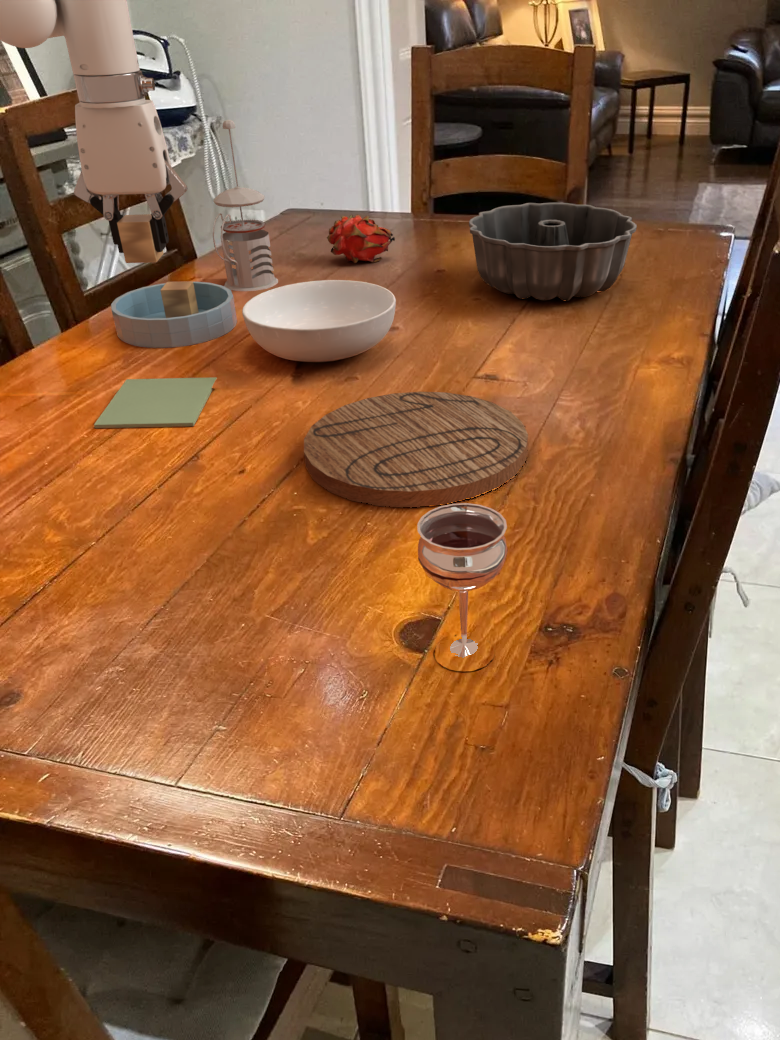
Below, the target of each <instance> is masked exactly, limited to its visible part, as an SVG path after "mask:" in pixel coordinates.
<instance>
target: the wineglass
mask: <svg viewBox="0 0 780 1040" xmlns="http://www.w3.org/2000/svg"><path fill="white" fill-rule="evenodd" d="M416 525H417V526H416V527H417V528H416V529H417V533H418V535H420V537H419V539H418V543H417V560H418V562H419V565H420V566H421V569H422V570H423V572H424V573H425V575H426V576H427V577H428V578H429V579H430V580H431V581H433V582H435V583H437V584H438V585H439V586H441V587H442V588H444V589H447V590H449V591H454V592H457V593H458V607H459V620H460V622H459V623H460V634H461V637H462V639H459V640H456V641H454V642H453V643H452V644H451V646H450V651H451V653H456V654H458V655H455V656H458V657H462V658H464V657H466V656H468V655H472V654H474V653H475V652H476V651H477V649H478V646H477V645H478V643H475V641H473V640H471V639H467V634H468V616H469V615H468V614H469V613H468V611H469V610H468V609H469V607H468V606H469V592H471V591H475V590H479V589H481V588H483V587H484V586H486V585H487V584H489V583H490V582H492V581H493V580H494V579H496V578H497V577H498V575H499V574H500V573H501V571H502V569H503V567H504V565H505V562H506V560H507V555H508V545H507V544H508V543H507V540H506V536H505V533H506V531H507V529H508V525H507V520H506V518H505V517H504V516H503V515H502V513H500V512H499V511H497V510H495V509H493V508H491V507H488V506H485V505H483V504H476V503H470V502H469V503H468V502H458V503H452V504H447V505H441V506H437V507H435V508H433V509H431V510H429V511H427V512H426V513H425V514H423V515H422V516H421V517H420V518H419V520H418V522H417V524H416Z"/></svg>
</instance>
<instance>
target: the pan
mask: <svg viewBox="0 0 780 1040" xmlns="http://www.w3.org/2000/svg"><path fill="white" fill-rule="evenodd" d="M166 283H167V282H164V283H156V284H153V285H152V284H151V285H147V286H142V287H139V288H137V289H133V290H130V291H127V292H125V293H123V294H121V295H120V296H118V297H115V299H114V300H113V301H112V303H111V304H110V308H111V309H110V310H111V314H112V318H113V323H114V327H115V332H116V335H117V337H118V339H119V340H121V342H124V343H126V344H128V345H131V346H135V347H140V348H149V349H150V348H151V349H170V348H181V347H188V346H194V345H198V344H203V343H207V342H211V341H213V340H217V339H219V338H221V337H224V336H225V335H227V334H229V333H230V332H232V330H234V329H235V327H236V326H237V323H238V317H237V311H236V305H235V298H234V294H233V291H232V290H230V289H228V288H226V287H225V286H224V285H221V284H217V283H212V282H207V281H206V282H205V281H193V284H194V289H195V295H196V300H197V306H198V311H199V313H196V314H192V315H187V316H180V317H172V318H166V315H165V310H164V305H163V300H162V296H161V291H160V290H161V289H162V288H163V286H164V285H165V284H166Z"/></svg>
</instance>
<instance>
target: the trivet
mask: <svg viewBox="0 0 780 1040" xmlns="http://www.w3.org/2000/svg"><path fill="white" fill-rule="evenodd" d="M527 449H528V450H529V433H528V431H527V429H526V426H525V425H524V422H523V421H522V420H521V419H520V418H519V417H518V416H517V415H515V414H514V412H512V411H511V410H509V409H507V408H505V407H502V406H501V405H499V404H497V403H494V402H492V401H489V400H485V399H482V398H479V397H475V396H472V395H465V394H459V393H452V392H445V391H444V392H443V391H442V392H441V391H440V392H439V391H409V392H395V393H388V394H383V395H378V396H372V397H367V398H364V399H361V400H358V401H357V400H356V401H353V402H350V403H348V404H345V405H342V406H340V407H339V408H336V409H334V410H332V411H330V412H328V413H326V414H324V415H323V416H322V417H321V418H319V420H317V421H316V422H315V423H313V424H312V425H311V426H310V428H309V430H308V431H307V433H306V435H305V436H304V437H303V456H304V464H305V468H306V470H307V472H308V474H309V475H310V477H311V479H312V480H313V481H314V482H315V483H317V484H318V485H319V486H321V487H322V488H323V487H324V488H323V489H325V490H326V489H327V490H326V491H327V492H329V493H331V494H334V495H336V496H339V497H341V498H344V499H346V498H347V500H349V501H352V502H357V503H361V502H362V503H361V504H366V503H368V504H367V505H371V504H372V506H376V507H383V508H385V506H386V508H403V507H410V508H409V509H413V508H412V507H417V508H421V507H420V506H429V505H440V504H447V503H451V502H455V501H459V500H463V499H466V498H471V497H475V496H476V495H479V494H482V493H484V492H486V491H489V490H492V489H494V488H497V487H499V486H500V485H502V484H503V483H505V482H506V481H507V480H509V479H510V478H512V477H513V476H515V475H516V474H517V472H518V471H519V469H520V468H521V467H522V465H523V464H524V463H525V461H526V462H527V457H526V455H527V456H528V451H527ZM525 464H526V463H525ZM522 468H523V467H522ZM519 472H520V471H519ZM517 475H518V474H517ZM517 475H516V476H517ZM447 505H448V504H447ZM389 506H390V507H389ZM429 507H430V506H429Z"/></svg>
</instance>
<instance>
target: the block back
mask: <svg viewBox="0 0 780 1040" xmlns="http://www.w3.org/2000/svg"><path fill="white" fill-rule="evenodd" d="M193 282H194V281H192V280H190V281H189V280H187V281H185V280H184V281H167V282H165V283H166V284H165V285H164V286H163V288H162V289H161V290H160V291H161V296H162V300H163V305H164V310H165V315H166V318H172V317H180V316H187V315H192V314H196V313H199V311H198V306H197V300H196V295H195V289H194V284H193Z"/></svg>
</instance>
